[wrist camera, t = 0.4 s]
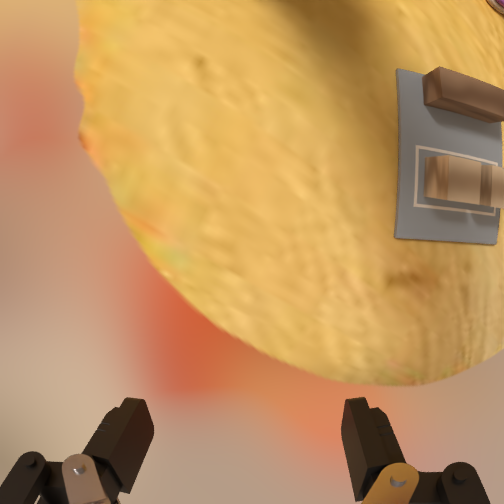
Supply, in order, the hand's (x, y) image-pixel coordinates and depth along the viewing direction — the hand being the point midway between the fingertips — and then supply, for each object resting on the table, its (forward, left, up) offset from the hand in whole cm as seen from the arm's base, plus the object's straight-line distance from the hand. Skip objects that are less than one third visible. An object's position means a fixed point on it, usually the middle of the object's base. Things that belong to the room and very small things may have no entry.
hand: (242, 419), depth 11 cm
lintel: (-22, +26, -27) cm, 44 cm away
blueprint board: (-14, +26, -28) cm, 40 cm away
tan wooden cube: (-11, +23, -27) cm, 37 cm away
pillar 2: (-11, +30, -27) cm, 42 cm away
